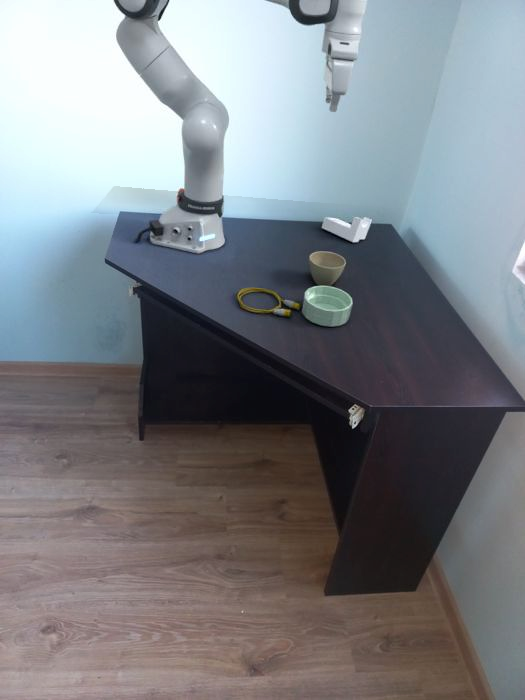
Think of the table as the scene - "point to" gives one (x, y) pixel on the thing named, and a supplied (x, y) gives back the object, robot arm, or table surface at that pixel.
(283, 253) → the table surface
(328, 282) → the flower pot
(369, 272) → the table surface
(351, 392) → the table surface
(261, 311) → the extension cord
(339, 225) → the bracket
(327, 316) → the bowl
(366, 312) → the table surface
